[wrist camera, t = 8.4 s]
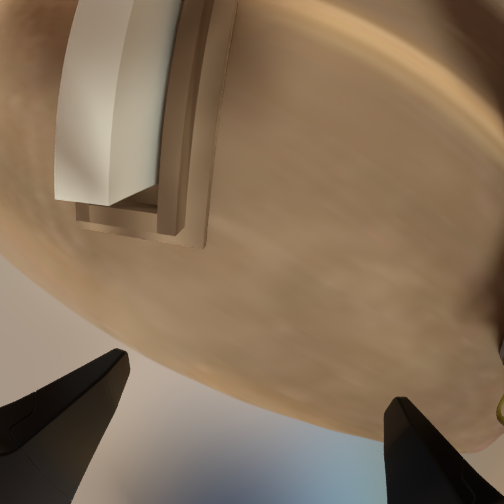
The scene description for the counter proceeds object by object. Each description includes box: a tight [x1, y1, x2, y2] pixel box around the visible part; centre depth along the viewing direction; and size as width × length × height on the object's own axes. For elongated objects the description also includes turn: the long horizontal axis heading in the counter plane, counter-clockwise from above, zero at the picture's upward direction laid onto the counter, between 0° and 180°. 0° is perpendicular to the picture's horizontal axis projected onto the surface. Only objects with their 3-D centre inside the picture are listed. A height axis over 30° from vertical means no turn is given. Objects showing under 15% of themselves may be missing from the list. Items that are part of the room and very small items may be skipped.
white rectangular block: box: [54, 0, 183, 206], centre depth 13 cm, size 4×12×6 cm, turn 172°
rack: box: [76, 0, 238, 249], centre depth 15 cm, size 10×20×3 cm, turn 172°
